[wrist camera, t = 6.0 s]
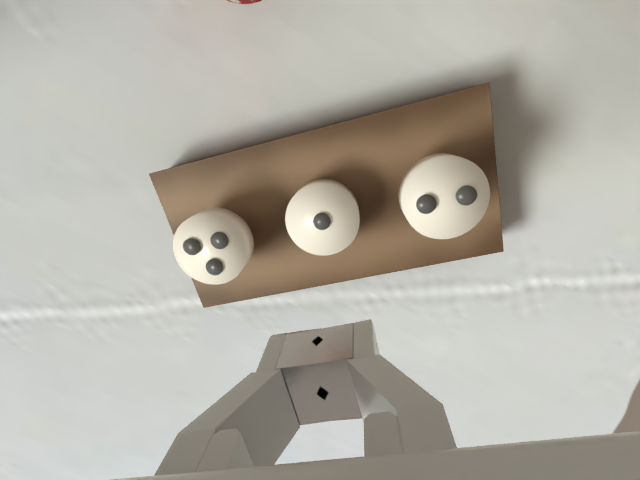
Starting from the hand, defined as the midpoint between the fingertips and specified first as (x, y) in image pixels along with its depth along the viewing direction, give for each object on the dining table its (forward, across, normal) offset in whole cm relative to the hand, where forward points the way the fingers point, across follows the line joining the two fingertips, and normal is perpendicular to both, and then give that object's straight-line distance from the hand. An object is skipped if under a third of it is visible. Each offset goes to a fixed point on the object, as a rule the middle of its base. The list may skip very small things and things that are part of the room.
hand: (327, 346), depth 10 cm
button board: (+19, +1, 0) cm, 19 cm away
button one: (+16, +1, 0) cm, 16 cm away
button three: (+15, +9, 0) cm, 17 cm away
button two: (+15, -7, 0) cm, 16 cm away
